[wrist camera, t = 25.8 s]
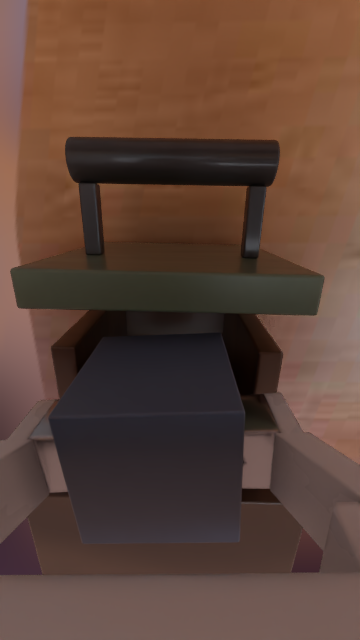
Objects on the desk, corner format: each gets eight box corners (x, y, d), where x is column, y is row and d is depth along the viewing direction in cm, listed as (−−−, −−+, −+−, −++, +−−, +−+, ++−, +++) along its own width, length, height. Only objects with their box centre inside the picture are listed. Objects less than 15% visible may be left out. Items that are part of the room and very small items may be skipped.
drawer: (94, 165, 14) (-28, 96, 6) (261, 168, 14) (363, 102, 6) (114, 416, 20) (66, 552, 12) (233, 419, 20) (266, 560, 12)
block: (118, 429, 11) (81, 545, 7) (102, 336, 9) (45, 417, 5) (221, 427, 10) (240, 543, 7) (221, 331, 9) (245, 411, 5)
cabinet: (105, 352, 19) (20, 495, 9) (246, 356, 19) (309, 504, 9) (117, 489, 24) (69, 679, 14) (230, 493, 24) (261, 687, 14)
